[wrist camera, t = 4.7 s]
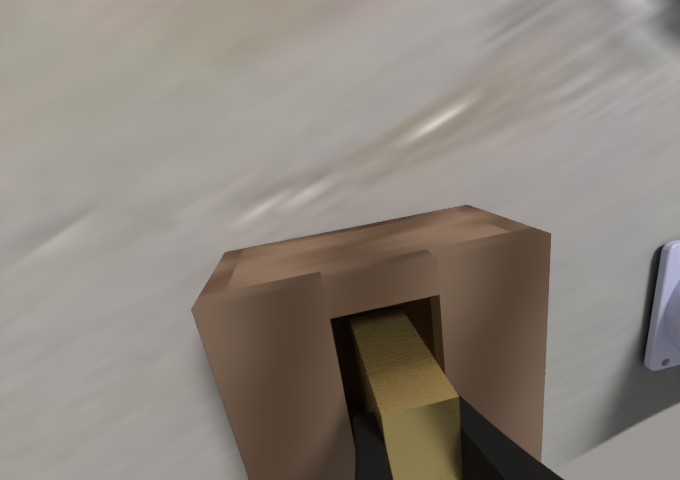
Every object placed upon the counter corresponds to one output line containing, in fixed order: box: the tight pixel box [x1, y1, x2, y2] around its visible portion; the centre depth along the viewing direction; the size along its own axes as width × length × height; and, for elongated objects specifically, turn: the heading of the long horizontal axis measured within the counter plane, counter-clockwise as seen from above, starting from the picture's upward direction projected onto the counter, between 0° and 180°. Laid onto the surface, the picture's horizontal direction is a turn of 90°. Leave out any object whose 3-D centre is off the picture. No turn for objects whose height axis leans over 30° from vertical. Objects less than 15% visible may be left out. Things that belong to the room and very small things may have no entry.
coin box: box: [191, 205, 551, 480], centre depth 13 cm, size 11×10×5 cm
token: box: [349, 306, 463, 480], centre depth 11 cm, size 2×5×4 cm, turn 10°
